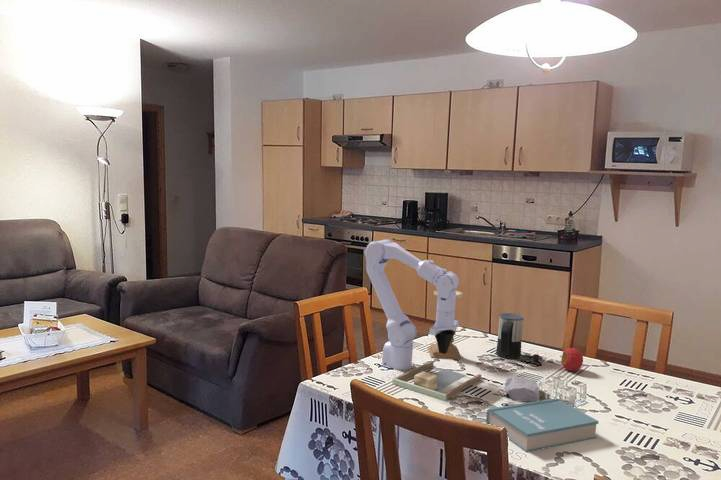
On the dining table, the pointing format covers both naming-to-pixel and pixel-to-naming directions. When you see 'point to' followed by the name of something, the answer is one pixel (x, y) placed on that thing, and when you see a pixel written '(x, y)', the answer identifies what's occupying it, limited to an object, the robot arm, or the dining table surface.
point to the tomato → (572, 359)
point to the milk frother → (511, 337)
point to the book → (543, 424)
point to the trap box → (443, 380)
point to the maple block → (426, 380)
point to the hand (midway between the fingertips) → (442, 352)
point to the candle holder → (452, 349)
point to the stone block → (522, 389)
